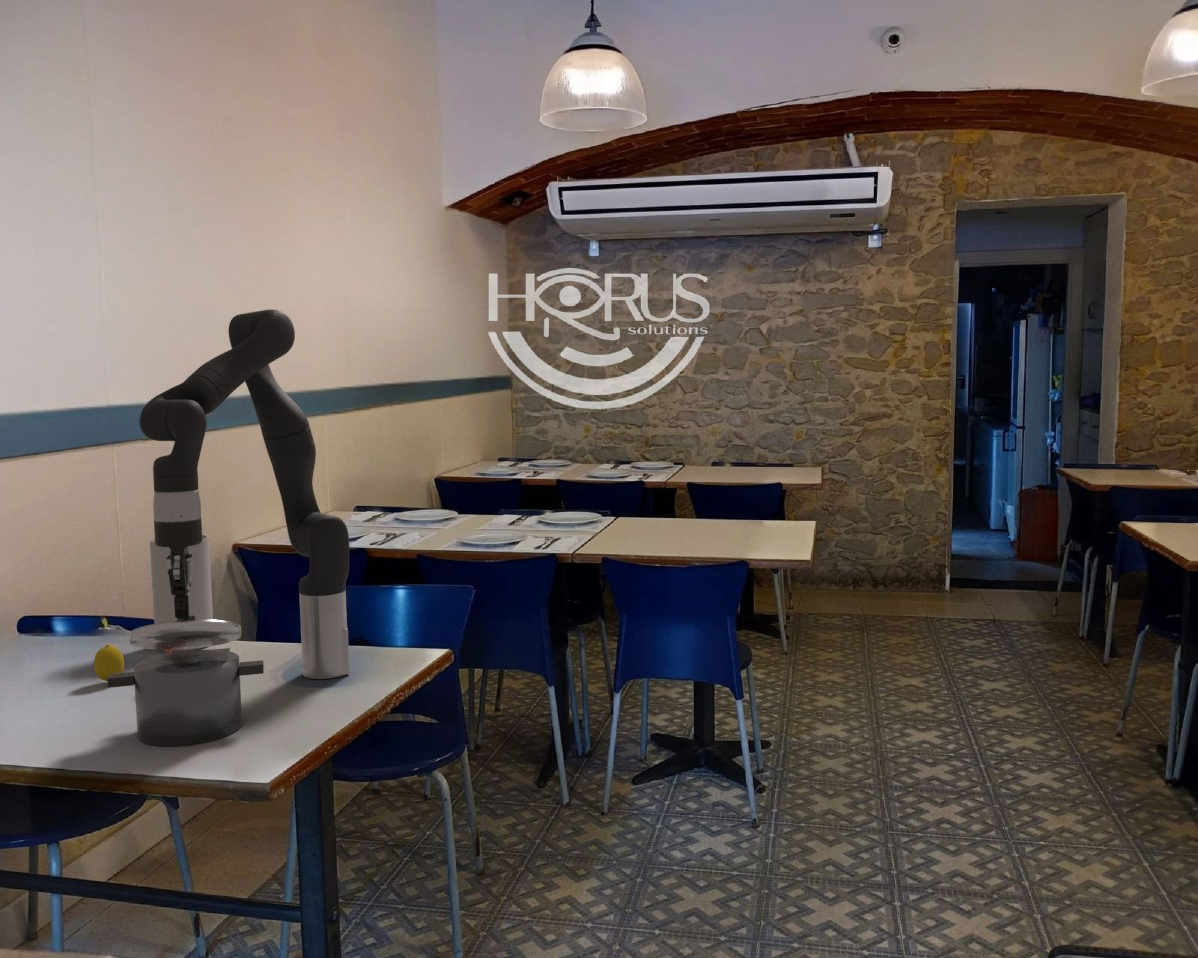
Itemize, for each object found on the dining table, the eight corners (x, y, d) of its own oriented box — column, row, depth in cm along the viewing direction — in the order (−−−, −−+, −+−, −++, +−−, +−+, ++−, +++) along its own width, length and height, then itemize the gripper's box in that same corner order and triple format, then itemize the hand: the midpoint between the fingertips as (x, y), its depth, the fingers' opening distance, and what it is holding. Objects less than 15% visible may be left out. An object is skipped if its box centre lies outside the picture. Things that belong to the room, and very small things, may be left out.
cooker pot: (266, 705, 194) (263, 642, 192) (265, 737, 176) (262, 668, 175) (121, 719, 186) (117, 654, 185) (104, 754, 169) (100, 682, 168)
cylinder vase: (208, 650, 234) (202, 541, 231) (149, 654, 232) (143, 543, 229) (218, 637, 246) (213, 533, 244) (163, 640, 244) (157, 535, 242)
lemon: (101, 679, 212) (99, 641, 211) (129, 678, 213) (127, 640, 212) (90, 687, 207) (88, 648, 206) (119, 686, 207) (116, 647, 206)
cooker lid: (243, 644, 191) (243, 623, 192) (238, 624, 174) (237, 602, 175) (137, 653, 185) (137, 631, 187) (122, 633, 169) (122, 610, 170)
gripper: (198, 520, 171) (202, 623, 172) (204, 511, 183) (208, 607, 185) (148, 522, 169) (153, 627, 170) (158, 513, 181) (163, 610, 183)
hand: (182, 617), depth 178 cm, fingers closed
